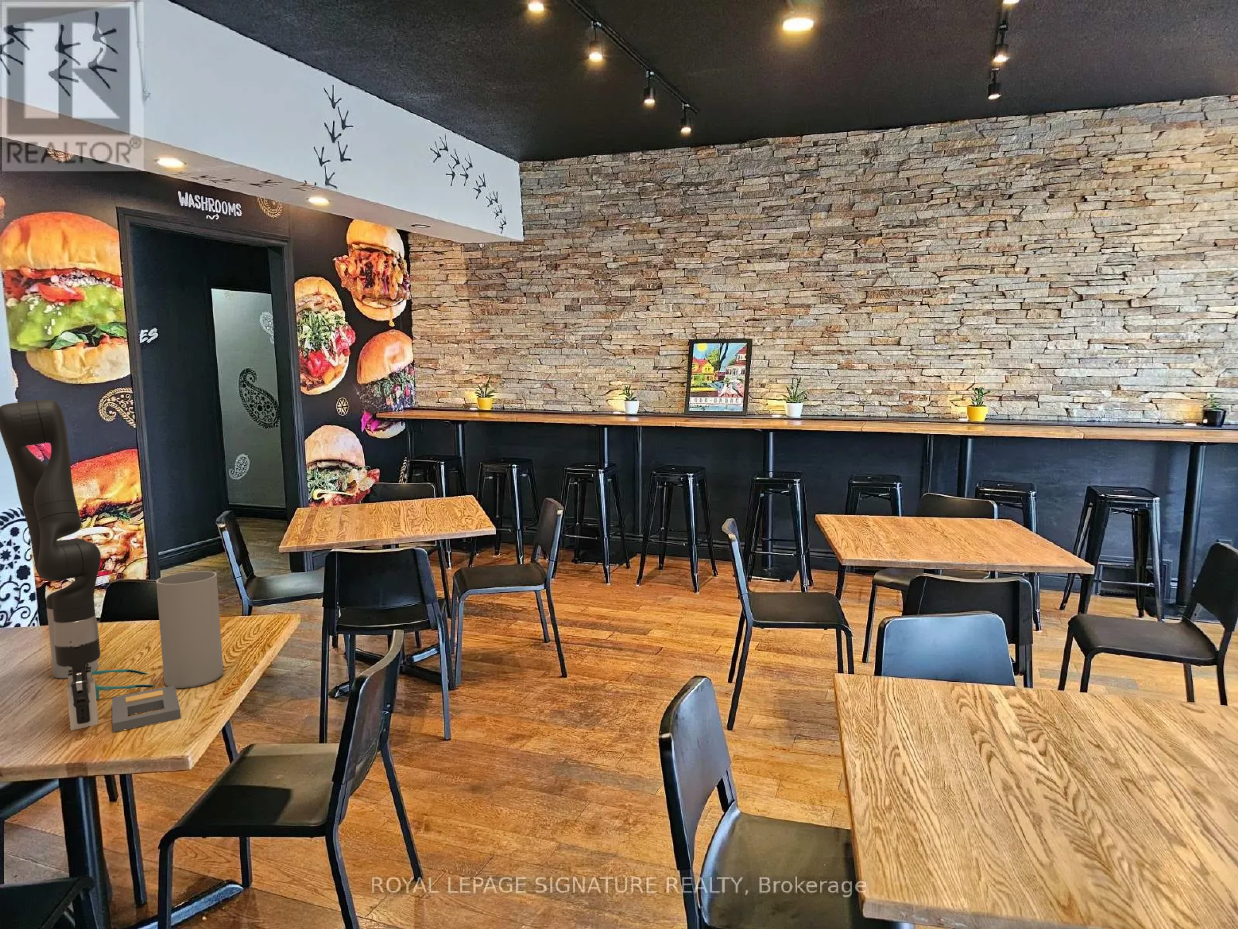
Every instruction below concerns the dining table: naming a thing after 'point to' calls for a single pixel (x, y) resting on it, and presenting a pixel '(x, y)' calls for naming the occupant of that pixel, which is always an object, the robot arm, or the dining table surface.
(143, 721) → the plate
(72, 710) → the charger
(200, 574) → the cylinder vase
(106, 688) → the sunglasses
